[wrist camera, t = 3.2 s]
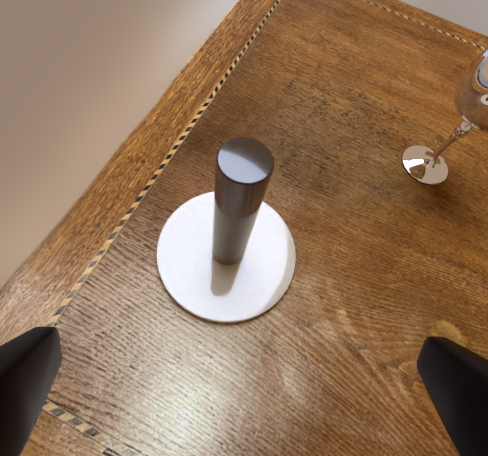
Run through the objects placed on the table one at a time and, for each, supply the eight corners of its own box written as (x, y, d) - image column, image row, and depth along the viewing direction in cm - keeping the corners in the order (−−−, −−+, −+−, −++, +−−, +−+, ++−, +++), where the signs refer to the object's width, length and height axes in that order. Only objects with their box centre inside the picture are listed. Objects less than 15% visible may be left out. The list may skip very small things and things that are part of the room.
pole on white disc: (247, 355, 19) (291, 342, 9) (126, 268, 21) (55, 176, 11) (316, 239, 23) (398, 144, 13) (212, 173, 25) (216, 44, 15)
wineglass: (453, 150, 29) (598, 23, 18) (455, 198, 27) (625, 84, 16) (396, 133, 29) (508, -3, 18) (393, 180, 27) (520, 53, 16)
